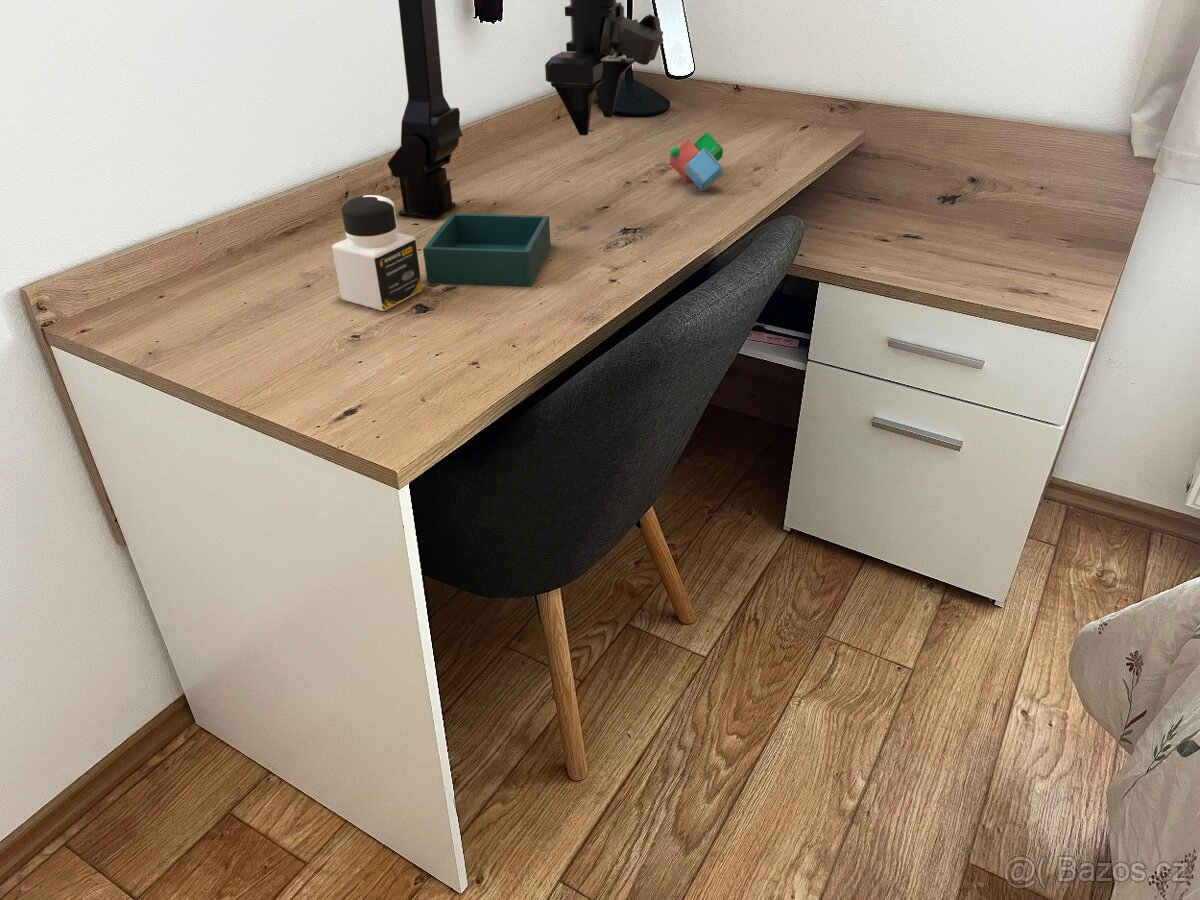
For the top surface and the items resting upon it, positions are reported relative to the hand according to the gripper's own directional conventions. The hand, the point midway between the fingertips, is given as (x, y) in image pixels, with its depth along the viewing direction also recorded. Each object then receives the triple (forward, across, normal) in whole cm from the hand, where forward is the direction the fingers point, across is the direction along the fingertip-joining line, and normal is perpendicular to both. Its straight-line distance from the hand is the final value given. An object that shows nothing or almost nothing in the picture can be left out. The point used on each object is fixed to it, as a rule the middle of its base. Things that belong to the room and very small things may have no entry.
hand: (596, 125), depth 124 cm
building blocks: (+15, +26, -8) cm, 31 cm away
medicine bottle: (+15, -28, +18) cm, 37 cm away
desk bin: (+15, -15, +9) cm, 23 cm away
